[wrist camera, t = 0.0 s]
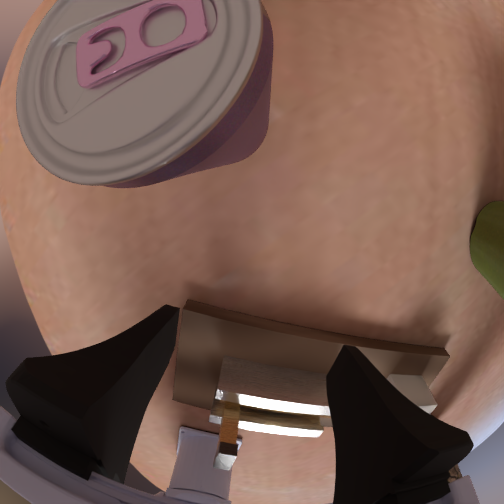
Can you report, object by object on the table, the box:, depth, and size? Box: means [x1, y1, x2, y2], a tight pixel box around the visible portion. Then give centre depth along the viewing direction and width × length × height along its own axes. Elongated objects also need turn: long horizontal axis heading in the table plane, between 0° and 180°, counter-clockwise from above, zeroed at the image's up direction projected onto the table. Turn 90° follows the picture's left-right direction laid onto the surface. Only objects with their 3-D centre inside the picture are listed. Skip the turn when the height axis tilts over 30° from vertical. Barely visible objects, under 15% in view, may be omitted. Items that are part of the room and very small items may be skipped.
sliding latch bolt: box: [213, 400, 331, 471], centre depth 19 cm, size 3×11×8 cm, turn 76°
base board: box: [173, 300, 450, 427], centre depth 24 cm, size 12×27×2 cm, turn 76°
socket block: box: [387, 374, 438, 414], centre depth 21 cm, size 6×4×4 cm
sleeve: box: [209, 355, 331, 437], centre depth 21 cm, size 5×10×4 cm, turn 76°
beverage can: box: [16, 0, 273, 188], centre depth 10 cm, size 6×6×15 cm
